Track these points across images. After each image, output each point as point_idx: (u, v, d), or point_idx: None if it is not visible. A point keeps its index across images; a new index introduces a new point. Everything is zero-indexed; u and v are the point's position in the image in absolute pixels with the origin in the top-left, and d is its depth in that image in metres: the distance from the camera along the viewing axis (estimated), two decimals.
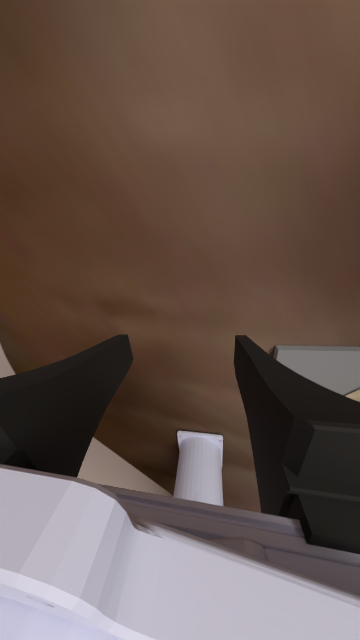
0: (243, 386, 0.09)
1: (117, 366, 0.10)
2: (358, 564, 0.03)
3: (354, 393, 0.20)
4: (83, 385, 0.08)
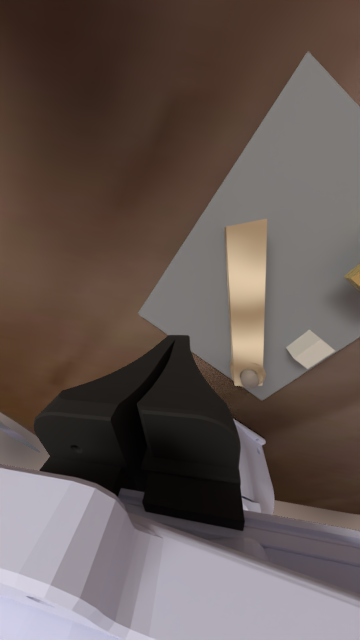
0: None
1: None
2: (358, 564, 0.03)
3: (227, 282, 0.17)
4: None
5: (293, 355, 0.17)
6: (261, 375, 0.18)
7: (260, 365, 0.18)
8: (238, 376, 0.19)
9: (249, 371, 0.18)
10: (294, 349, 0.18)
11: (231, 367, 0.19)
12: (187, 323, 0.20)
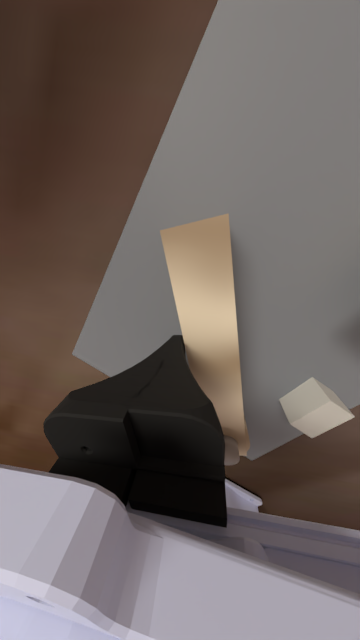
0: None
1: None
2: (358, 564, 0.03)
3: None
4: None
5: (289, 418, 0.12)
6: (244, 443, 0.13)
7: (241, 432, 0.12)
8: None
9: (225, 440, 0.12)
10: (290, 407, 0.12)
11: None
12: None
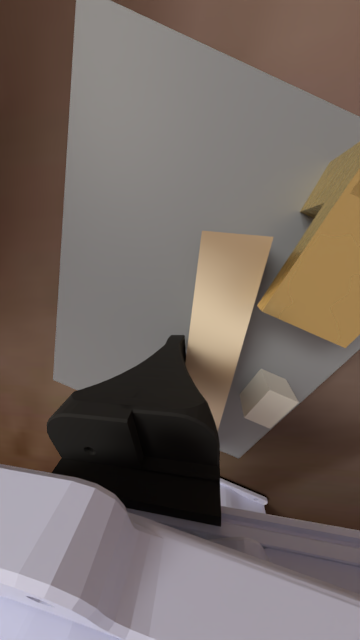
0: None
1: None
2: (358, 564, 0.03)
3: None
4: None
5: (244, 411, 0.12)
6: None
7: None
8: None
9: None
10: (245, 400, 0.12)
11: None
12: None
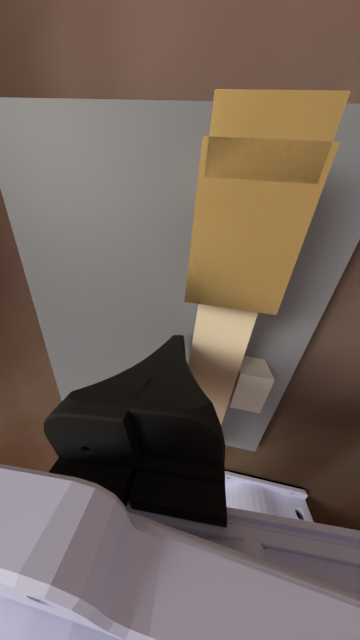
0: None
1: None
2: (358, 564, 0.03)
3: None
4: None
5: (229, 401, 0.12)
6: None
7: None
8: None
9: None
10: None
11: None
12: None
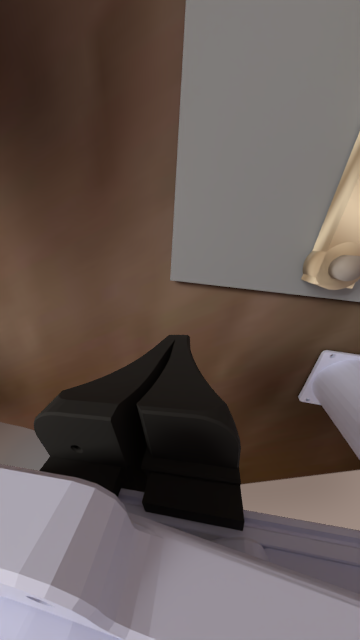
0: None
1: None
2: (358, 564, 0.03)
3: None
4: None
5: None
6: None
7: None
8: (326, 267, 0.13)
9: (351, 255, 0.12)
10: None
11: (316, 256, 0.14)
12: (226, 257, 0.16)
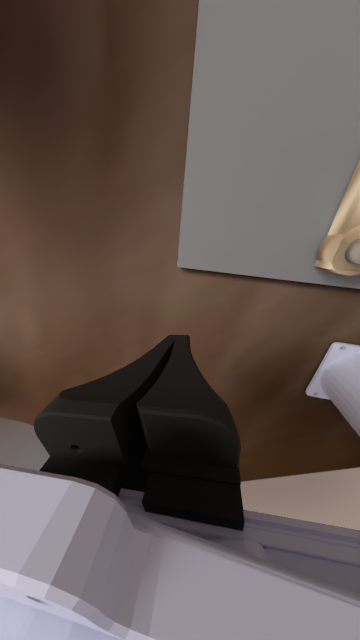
0: None
1: None
2: (358, 564, 0.03)
3: None
4: None
5: None
6: None
7: None
8: (343, 251, 0.13)
9: None
10: None
11: (332, 240, 0.13)
12: (237, 242, 0.16)
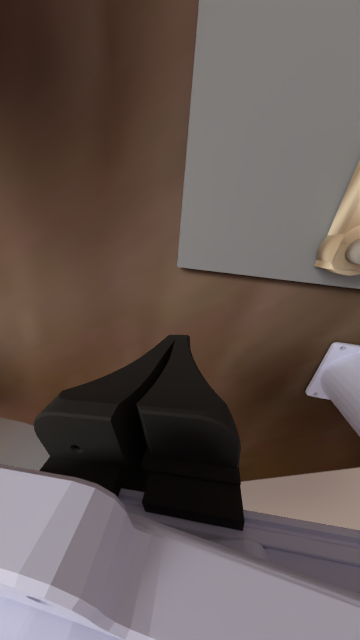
0: None
1: None
2: (358, 564, 0.03)
3: None
4: None
5: None
6: None
7: None
8: (343, 251, 0.13)
9: None
10: None
11: (332, 240, 0.13)
12: (237, 242, 0.16)
